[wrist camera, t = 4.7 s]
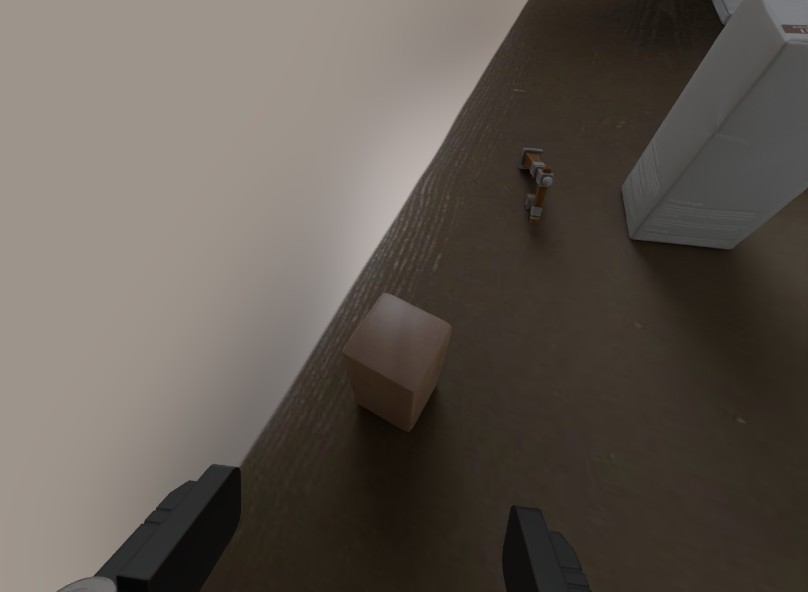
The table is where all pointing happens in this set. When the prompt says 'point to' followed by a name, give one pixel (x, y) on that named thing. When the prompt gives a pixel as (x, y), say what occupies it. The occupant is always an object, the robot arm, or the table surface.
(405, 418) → the wooden block
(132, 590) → the robot arm
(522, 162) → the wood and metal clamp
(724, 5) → the phone
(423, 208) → the table surface
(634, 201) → the cosmetic box
